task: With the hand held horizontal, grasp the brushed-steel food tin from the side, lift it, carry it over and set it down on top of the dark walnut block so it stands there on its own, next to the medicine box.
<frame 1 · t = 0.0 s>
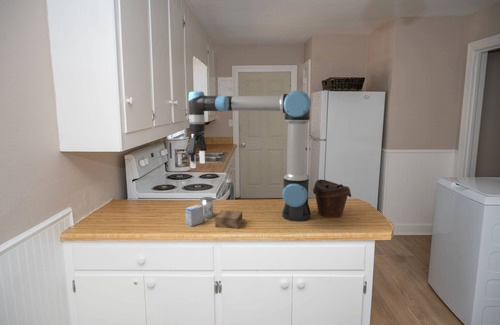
hand: (198, 165, 174), 28 cm above the table, tool pointing down, fingers open, 13 cm apart
medicine box: (194, 224, 172), on the table
food tin: (207, 217, 182), on the table
walnut block: (229, 223, 171), on the table
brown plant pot: (330, 214, 187), on the table
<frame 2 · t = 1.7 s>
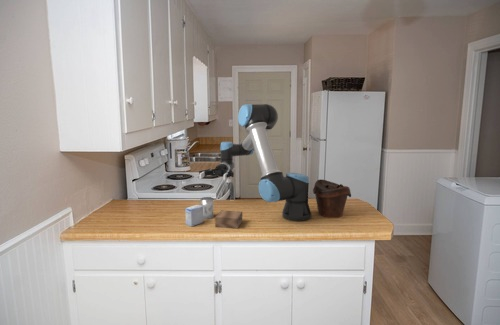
hand: (212, 176, 188), 20 cm above the table, tool horizontal, fingers open, 13 cm apart
nothing on the table moved.
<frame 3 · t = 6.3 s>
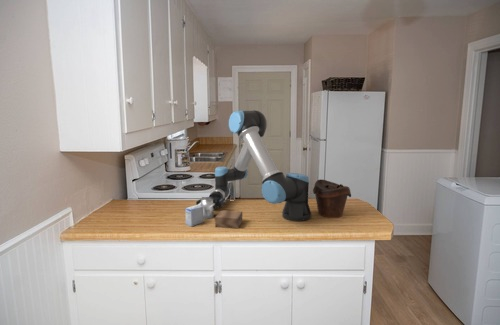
hand: (203, 208, 176), 6 cm above the table, tool horizontal, fingers closed on food tin, 6 cm apart
food tin: (207, 217, 182), on the table, touching gripper
everything else where it was.
when the fingers open (12 cm above the table, at t = 12.0 s): food tin drops 1 cm, resting on walnut block.
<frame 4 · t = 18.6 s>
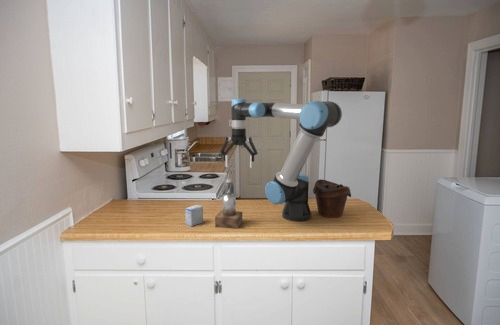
hand: (238, 167, 188), 25 cm above the table, tool pointing down, fingers open, 13 cm apart
food tin: (229, 214, 171), point 5 cm above the table, touching walnut block
everything else where it was.
at the end: food tin 0.1 cm from the walnut block (horizontally); food tin inside the target area on the walnut block (0.1 cm from its centre), point 5.0 cm above the walnut block's base; food tin tilted 0° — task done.
